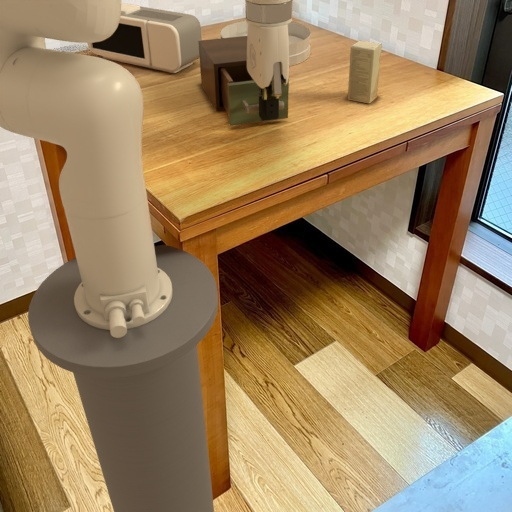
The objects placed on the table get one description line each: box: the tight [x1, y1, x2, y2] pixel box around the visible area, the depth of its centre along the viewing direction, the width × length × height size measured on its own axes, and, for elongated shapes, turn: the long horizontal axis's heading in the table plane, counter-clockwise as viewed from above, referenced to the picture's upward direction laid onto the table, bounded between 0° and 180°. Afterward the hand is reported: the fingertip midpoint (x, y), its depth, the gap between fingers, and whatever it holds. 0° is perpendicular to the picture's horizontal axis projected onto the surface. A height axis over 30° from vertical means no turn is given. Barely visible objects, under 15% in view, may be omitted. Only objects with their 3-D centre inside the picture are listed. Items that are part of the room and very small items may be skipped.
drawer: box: [218, 64, 290, 127], centre depth 114 cm, size 18×11×8 cm, turn 16°
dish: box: [220, 19, 312, 67], centre depth 145 cm, size 22×22×5 cm
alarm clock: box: [86, 2, 203, 74], centre depth 139 cm, size 27×9×12 cm, turn 60°
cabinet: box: [198, 36, 247, 112], centre depth 123 cm, size 15×13×10 cm
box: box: [347, 40, 383, 104], centre depth 120 cm, size 5×4×11 cm
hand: (268, 117), depth 106 cm, fingers closed
